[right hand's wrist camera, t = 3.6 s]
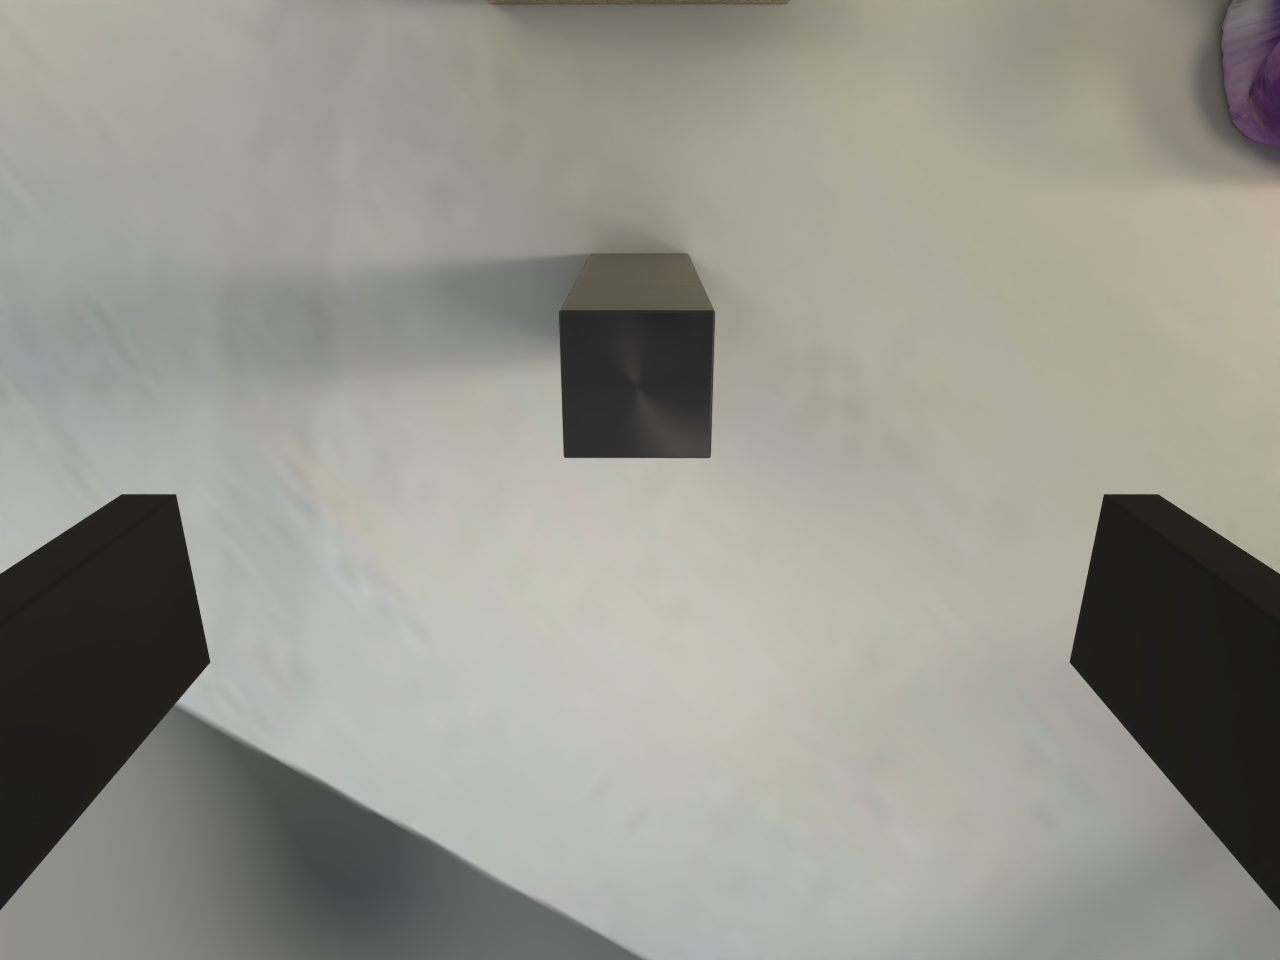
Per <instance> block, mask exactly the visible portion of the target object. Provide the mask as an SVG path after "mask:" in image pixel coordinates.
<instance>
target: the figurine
mask: <svg viewBox="0 0 1280 960" xmlns="http://www.w3.org/2000/svg"><path fill="white" fill-rule="evenodd" d="M1222 30H1223V35H1222V39H1221V44H1222V52H1223V54H1224V55H1223V59H1222V65H1223V73H1224V88H1225V91H1226V95H1227V103H1228V104H1229V105H1230V108H1229V112H1230V116H1231V119H1232V122H1233V123H1234V124H1235V125H1236V127H1237V128H1238V129H1239V130H1240V131H1241V132H1242V133H1243V135H1245V136H1246V137H1248V138H1249V139H1251V140H1253V141H1256V142H1259V143H1264V144H1270V145H1275V146H1278V147H1280V0H1233V1H1232V3H1231V4H1230V6H1229V8H1228V10H1227V13H1226V16H1225V19H1224V22H1223V25H1222Z"/></svg>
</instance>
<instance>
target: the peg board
mask: <svg viewBox="0 0 1280 960" xmlns="http://www.w3.org/2000/svg"><path fill="white" fill-rule="evenodd" d="M789 1H790V0H489V2H490V3H491V4H787V3H788V2H789Z"/></svg>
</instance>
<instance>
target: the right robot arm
mask: <svg viewBox="0 0 1280 960" xmlns="http://www.w3.org/2000/svg"><path fill="white" fill-rule="evenodd" d="M209 663H210V658H209V654H208V649H207V644H206V639H205V634H204V629H203V624H202V619H201V614H200V610H199V605H198V600H197V595H196V590H195V585H194V580H193V575H192V570H191V565H190V561H189V556H188V551H187V546H186V541H185V536H184V531H183V526H182V521H181V517H180V512H179V507H178V502H177V497H176V494H122V495H120V496H119V497H117V498H116V499H114V500H113V501H111V502H109V503H108V504H106V505H105V506H103V507H102V508H100V509H99V510H97V511H96V512H94V513H93V514H91V515H90V516H88V517H87V518H85V519H84V520H82V521H80V522H79V523H77V524H76V525H74V526H73V527H71V528H70V529H68V530H67V531H65V532H64V533H62V534H61V535H59V536H58V537H56V538H55V539H53V540H51V541H50V542H48V543H47V544H45V545H44V546H42V547H41V548H39V549H38V550H36V551H35V552H33V553H32V554H30V555H29V556H27V557H26V558H24V559H22V560H21V561H19V562H18V563H16V564H15V565H13V566H12V567H10V568H9V569H7V570H6V571H4V572H3V573H1V574H0V910H1V909H2V908H3V906H4V905H5V904H6V903H7V902H8V901H9V899H10V898H11V897H12V896H13V895H14V893H15V892H16V891H17V890H18V889H19V888H20V886H21V885H22V884H23V883H24V882H25V880H26V879H27V878H28V877H29V876H30V875H31V873H32V872H33V871H34V870H35V869H36V867H37V866H38V865H39V864H40V863H41V862H42V860H43V859H44V858H45V857H46V856H47V854H48V853H49V852H50V851H51V850H52V848H53V847H54V846H55V845H56V844H57V843H58V841H59V840H60V839H61V838H62V837H63V836H64V834H65V833H66V832H67V831H68V830H69V828H70V827H71V826H72V825H73V824H74V823H75V821H76V820H77V819H78V818H79V817H80V816H81V814H82V813H83V812H84V811H85V810H86V808H87V807H88V806H89V805H90V804H91V802H92V801H93V800H94V799H95V798H96V797H97V795H98V794H99V793H100V792H101V791H102V790H103V788H104V787H105V786H106V785H107V784H108V782H109V781H110V780H111V779H112V778H113V776H114V775H115V774H116V773H117V772H118V771H119V769H120V768H121V767H122V766H123V765H124V764H125V762H126V761H127V760H128V759H129V758H130V756H131V755H132V754H133V753H134V752H135V751H136V749H137V748H138V747H139V746H140V745H141V743H142V742H143V741H144V740H145V739H146V737H147V736H148V735H149V734H150V733H151V732H152V730H153V729H154V728H155V727H156V726H157V725H158V723H159V722H160V721H161V720H162V719H163V717H164V716H165V715H166V714H167V713H168V712H169V710H170V709H171V708H172V707H173V706H174V705H175V703H176V702H177V701H178V700H179V699H180V697H181V696H182V695H183V694H184V693H185V692H186V690H187V689H188V688H189V687H190V686H191V684H192V683H193V682H194V681H195V680H196V679H197V677H198V676H199V675H200V674H201V673H202V671H203V670H204V669H205V668H206V667H207V666H208V664H209ZM1070 663H1071V664H1072V666H1073V667H1074V668H1075V669H1076V670H1077V671H1078V673H1079V674H1080V675H1081V676H1082V677H1083V679H1084V680H1085V681H1086V682H1087V683H1088V684H1089V686H1090V687H1091V688H1092V689H1093V690H1094V692H1095V693H1096V694H1097V695H1098V696H1099V697H1100V699H1101V700H1102V701H1103V702H1104V703H1105V705H1106V706H1107V707H1108V708H1109V709H1110V710H1111V712H1112V713H1113V714H1114V715H1115V716H1116V718H1117V719H1118V720H1119V721H1120V722H1121V723H1122V725H1123V726H1124V727H1125V728H1126V729H1127V730H1128V732H1129V733H1130V734H1131V735H1132V736H1133V738H1134V739H1135V740H1136V741H1137V742H1138V743H1139V745H1140V746H1141V747H1142V748H1143V749H1144V751H1145V752H1146V753H1147V754H1148V755H1149V756H1150V758H1151V759H1152V760H1153V761H1154V762H1155V764H1156V765H1157V766H1158V767H1159V768H1160V769H1161V771H1162V772H1163V773H1164V774H1165V775H1166V777H1167V778H1168V779H1169V780H1170V781H1171V782H1172V784H1173V785H1174V786H1175V787H1176V788H1177V790H1178V791H1179V792H1180V793H1181V794H1182V795H1183V797H1184V798H1185V799H1186V800H1187V801H1188V803H1189V804H1190V805H1191V806H1192V807H1193V808H1194V810H1195V811H1196V812H1197V813H1198V814H1199V816H1200V817H1201V818H1202V819H1203V820H1204V821H1205V823H1206V824H1207V825H1208V826H1209V827H1210V828H1211V830H1212V831H1213V832H1214V833H1215V834H1216V836H1217V837H1218V838H1219V839H1220V840H1221V841H1222V843H1223V844H1224V845H1225V846H1226V847H1227V849H1228V850H1229V851H1230V852H1231V853H1232V854H1233V856H1234V857H1235V858H1236V859H1237V860H1238V862H1239V863H1240V864H1241V865H1242V866H1243V867H1244V869H1245V870H1246V871H1247V872H1248V873H1249V875H1250V876H1251V877H1252V878H1253V879H1254V880H1255V882H1256V883H1257V884H1258V885H1259V886H1260V888H1261V889H1262V890H1263V891H1264V892H1265V893H1266V895H1267V896H1268V897H1269V898H1270V899H1271V901H1272V902H1273V903H1274V904H1275V905H1276V906H1277V908H1278V909H1279V910H1280V574H1279V573H1277V572H1276V571H1274V570H1273V569H1271V568H1270V567H1268V566H1267V565H1265V564H1264V563H1262V562H1261V561H1259V560H1258V559H1256V558H1254V557H1253V556H1251V555H1250V554H1248V553H1247V552H1245V551H1244V550H1242V549H1241V548H1239V547H1238V546H1236V545H1235V544H1233V543H1232V542H1230V541H1229V540H1227V539H1225V538H1224V537H1222V536H1221V535H1219V534H1218V533H1216V532H1215V531H1213V530H1212V529H1210V528H1209V527H1207V526H1206V525H1204V524H1203V523H1201V522H1200V521H1198V520H1196V519H1195V518H1193V517H1192V516H1190V515H1189V514H1187V513H1186V512H1184V511H1183V510H1181V509H1180V508H1178V507H1177V506H1175V505H1174V504H1172V503H1171V502H1169V501H1167V500H1166V499H1164V498H1163V497H1161V496H1160V495H1158V494H1104V497H1103V502H1102V507H1101V512H1100V517H1099V521H1098V526H1097V531H1096V536H1095V541H1094V546H1093V551H1092V556H1091V561H1090V565H1089V570H1088V575H1087V580H1086V585H1085V590H1084V595H1083V600H1082V605H1081V610H1080V614H1079V619H1078V624H1077V629H1076V634H1075V639H1074V644H1073V649H1072V654H1071V658H1070Z"/></svg>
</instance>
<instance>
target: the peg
mask: <svg viewBox="0 0 1280 960" xmlns="http://www.w3.org/2000/svg"><path fill="white" fill-rule="evenodd" d="M559 326H560V356H561V387H562V417H563V447H564V457H565V458H710V457H711V431H712V398H713V364H714V331H715V311H714V309H713V307H712V305H711V302H710V300H709V298H708V296H707V294H706V292H705V289H704V287H703V285H702V283H701V281H700V278H699V276H698V274H697V272H696V270H695V268H694V265H693V263H692V261H691V259H690V257H689V255H688V254H591V255H590V257H589V259H588V260H587V262H586V264H585V266H584V268H583V269H582V271H581V273H580V275H579V277H578V279H577V280H576V282H575V284H574V286H573V288H572V289H571V291H570V293H569V295H568V297H567V299H566V300H565V302H564V304H563V306H562V308H561V309H560V311H559Z"/></svg>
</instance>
